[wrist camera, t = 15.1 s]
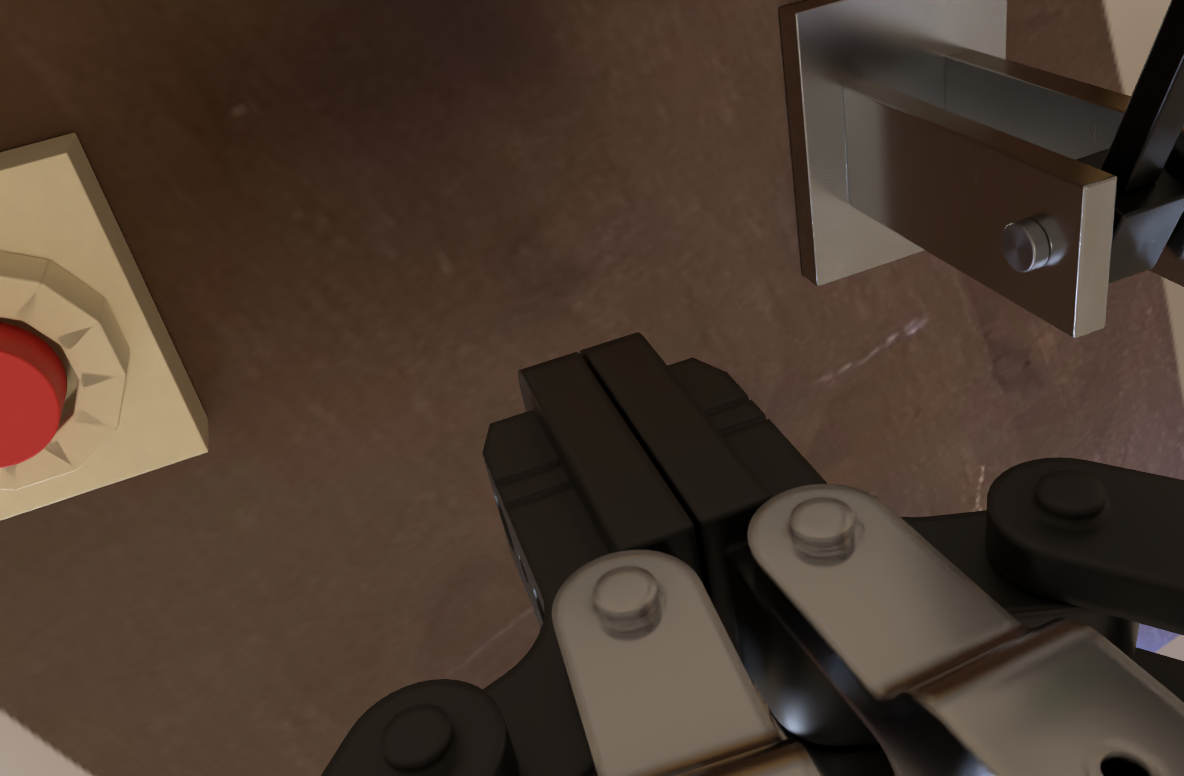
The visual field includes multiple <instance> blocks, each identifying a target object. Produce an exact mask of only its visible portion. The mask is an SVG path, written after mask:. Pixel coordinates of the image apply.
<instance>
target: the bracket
mask: <svg viewBox="0 0 1184 776" xmlns="http://www.w3.org/2000/svg"><path fill="white" fill-rule="evenodd" d="M779 14H780V26H781V37H782V48H783V60H784V71H785V82H786V93H787V105H788V116H789V127H790V139H791V150H792V161H793V173H794V184H795V195H796V206H797V218H798V229H799V240H800V252H801V263H802V274H803V276H804V277H806V278H807V279H808V280H810V281H811V282H812V283H814V284H815V285H816V286H821V285H824V284H827V283H830V282H833V281H836V280H839V279H842V278H845V277H848V276H851V275H854V274H857V273H860V272H863V271H866V270H869V269H871V268H874V267H877V266H880V265H883V264H886V263H889V262H892V261H895V260H898V259H901V258H904V257H907V256H910V255H913V254H916V253H919V252H922V251H925V250H926V251H928V252H929V253H931V254H933V255H934V256H936V257H938V258H939V259H941V260H943V261H944V262H946V263H948V264H950V265H951V266H953V267H955V268H956V269H958V270H960V271H961V272H963V273H965V274H966V275H968V276H970V277H972V278H973V279H975V280H977V281H978V282H980V283H982V284H983V285H985V286H987V287H988V288H990V289H992V290H994V291H995V292H997V293H999V294H1000V295H1002V296H1004V297H1005V298H1007V299H1009V300H1010V301H1012V302H1014V303H1015V304H1017V305H1019V306H1021V307H1022V308H1024V309H1026V310H1027V311H1029V312H1031V313H1032V314H1034V315H1036V316H1037V317H1039V318H1041V319H1043V320H1044V321H1046V322H1048V323H1049V324H1051V325H1053V326H1054V327H1056V328H1058V329H1059V330H1061V331H1063V332H1065V333H1066V334H1068V335H1070V336H1071V337H1073V338H1077V337H1080V336H1083V335H1086V334H1088V333H1091V332H1094V331H1097V330H1099V329H1102V328H1104V326H1105V317H1106V305H1107V293H1108V282H1109V270H1110V258H1111V247H1112V235H1113V223H1114V212H1115V200H1116V188H1117V176H1116V175H1113V174H1111V173H1108V172H1106V171H1103V170H1100V169H1098V168H1095V167H1093V166H1090V165H1087V164H1085V163H1082V162H1080V161H1077V160H1075V159H1078V158H1082V157H1085V156H1088V155H1091V154H1094V153H1097V152H1100V151H1103V150H1106V149H1109V148H1110V146H1111V144H1112V141H1113V139H1114V137H1115V134H1116V132H1117V130H1118V127H1119V125H1120V122H1121V120H1122V118H1123V115H1124V113H1125V110H1126V108H1127V106H1128V103H1129V101H1130V98H1131V96H1128V95H1125V94H1121V93H1118V92H1114V91H1111V90H1108V89H1104V88H1101V87H1098V86H1094V85H1091V84H1087V83H1084V82H1081V81H1077V80H1074V79H1070V78H1067V77H1064V76H1060V75H1057V74H1053V73H1050V72H1047V71H1043V70H1040V69H1036V68H1033V67H1030V66H1026V65H1023V64H1019V63H1016V62H1013V61H1009V60H1006V31H1007V0H806V1H802V2H799V3H795V4H791V5H788V6H784V7H781V8H779ZM1164 169H1165V170H1166V171H1167V172H1168V173H1170V174H1171V175H1172V176H1173V177H1174V178H1175V179H1176V180H1178V181H1179V182H1180V183H1181V184H1182V185H1183V186H1184V126H1183V128H1182V130H1181V132H1180V134H1179V137H1178V139H1177V141H1176V143H1175V145H1174V147H1173V149H1172V151H1171V153H1170V155H1169V157H1168V160H1167V162H1166V164H1165V166H1164ZM1149 271H1151V272H1153V273H1156V274H1158V275H1160V276H1162V277H1164V278H1166V279H1168V280H1170V281H1173V282H1175V283H1177V284H1179V285H1181V286H1183V287H1184V210H1183V212H1182V214H1181V216H1180V218H1179V220H1178V222H1177V224H1176V226H1175V228H1174V230H1173V231H1172V233H1171V235H1170V237H1169V239H1168V241H1167V243H1166V245H1165V247H1164V249H1163V251H1162V253H1161V255H1160V256H1159V258H1158V260H1157V262H1156V264H1155V266H1154V267H1153V268H1151V269H1149Z"/></svg>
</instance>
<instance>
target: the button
mask: <svg viewBox="0 0 1184 776" xmlns="http://www.w3.org/2000/svg"><path fill="white" fill-rule="evenodd" d="M66 393H67V377H66V373H65V369H64V367H63V364H62V362H61V360H60V359H59V357H58V356H57V354H56V353H55V352H54V350H53V349H52V348H51V347H50V346H49V345H48V344H47V343H46V342H45V341H43V340H42V339H41V338H39V337H38V336H36V335H35V334H33V333H31V332H29V331H27V330H25V329H23V328H20V327H17V326H14V325H11V324H6V323H1V322H0V468H5V467H9V466H13V465H16V464H19V463H22V462H24V461H26V460H28V459H30V458H32V457H34V456H35V455H37V454H38V453H39V452H41V451H42V450H43V449H44V448H45V447H46V446H47V445H48V444H49V443H50V441H51V440H52V439H53V437H54V435H55V434H56V431H57V429H58V426H59V422H60V418H61V414H62V410H63V406H64V401H65V397H66Z"/></svg>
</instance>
